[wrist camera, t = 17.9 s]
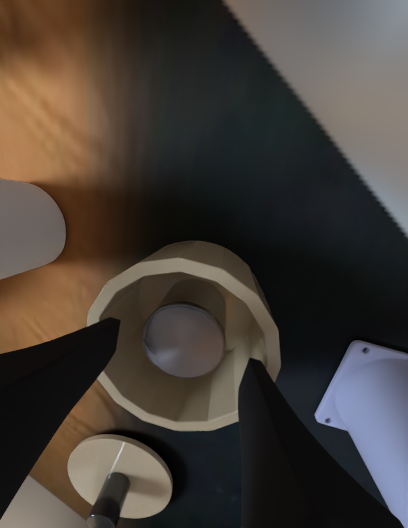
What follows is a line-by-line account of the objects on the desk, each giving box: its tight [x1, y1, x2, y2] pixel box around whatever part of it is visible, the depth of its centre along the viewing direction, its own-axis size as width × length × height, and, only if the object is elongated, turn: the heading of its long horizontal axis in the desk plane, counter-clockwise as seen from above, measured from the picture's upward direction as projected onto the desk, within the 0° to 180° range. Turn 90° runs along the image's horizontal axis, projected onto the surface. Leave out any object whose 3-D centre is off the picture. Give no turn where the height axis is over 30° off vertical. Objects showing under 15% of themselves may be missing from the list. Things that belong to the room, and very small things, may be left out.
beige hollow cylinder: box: [87, 240, 281, 431], centre depth 14 cm, size 10×10×6 cm
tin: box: [142, 279, 226, 379], centre depth 15 cm, size 5×5×4 cm
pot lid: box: [68, 434, 173, 528], centre depth 21 cm, size 11×11×4 cm
